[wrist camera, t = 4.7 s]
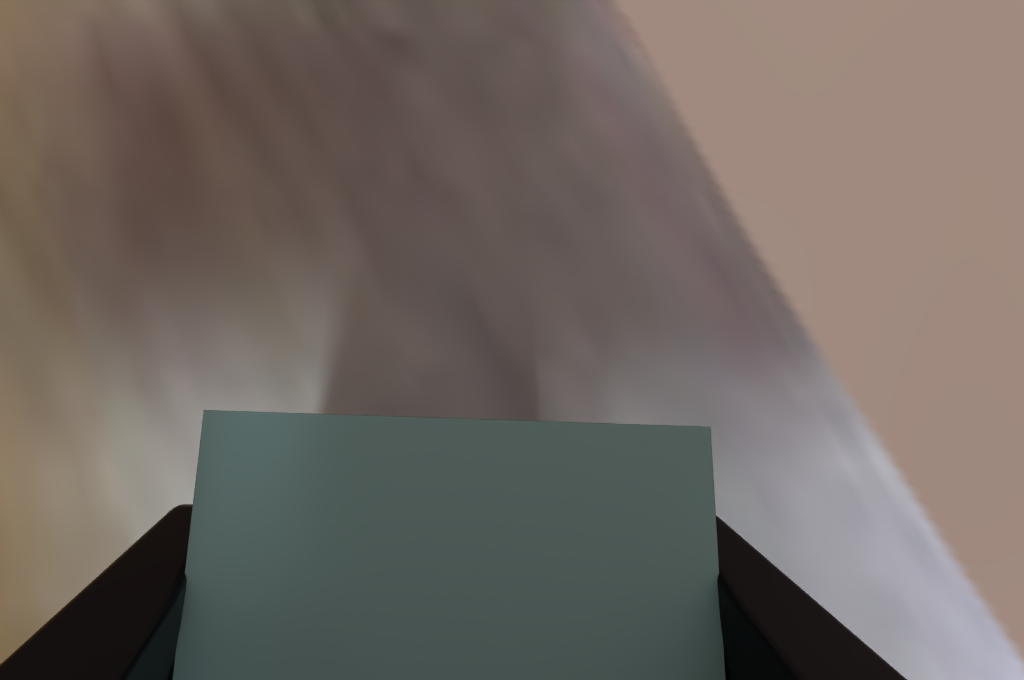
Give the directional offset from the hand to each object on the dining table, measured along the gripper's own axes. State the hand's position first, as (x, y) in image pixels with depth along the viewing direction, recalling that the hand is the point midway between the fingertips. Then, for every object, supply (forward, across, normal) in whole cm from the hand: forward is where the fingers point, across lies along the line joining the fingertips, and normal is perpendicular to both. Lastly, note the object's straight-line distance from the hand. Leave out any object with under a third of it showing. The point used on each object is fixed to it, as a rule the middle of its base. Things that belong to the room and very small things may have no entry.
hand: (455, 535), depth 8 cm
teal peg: (+4, 0, +6) cm, 7 cm away
